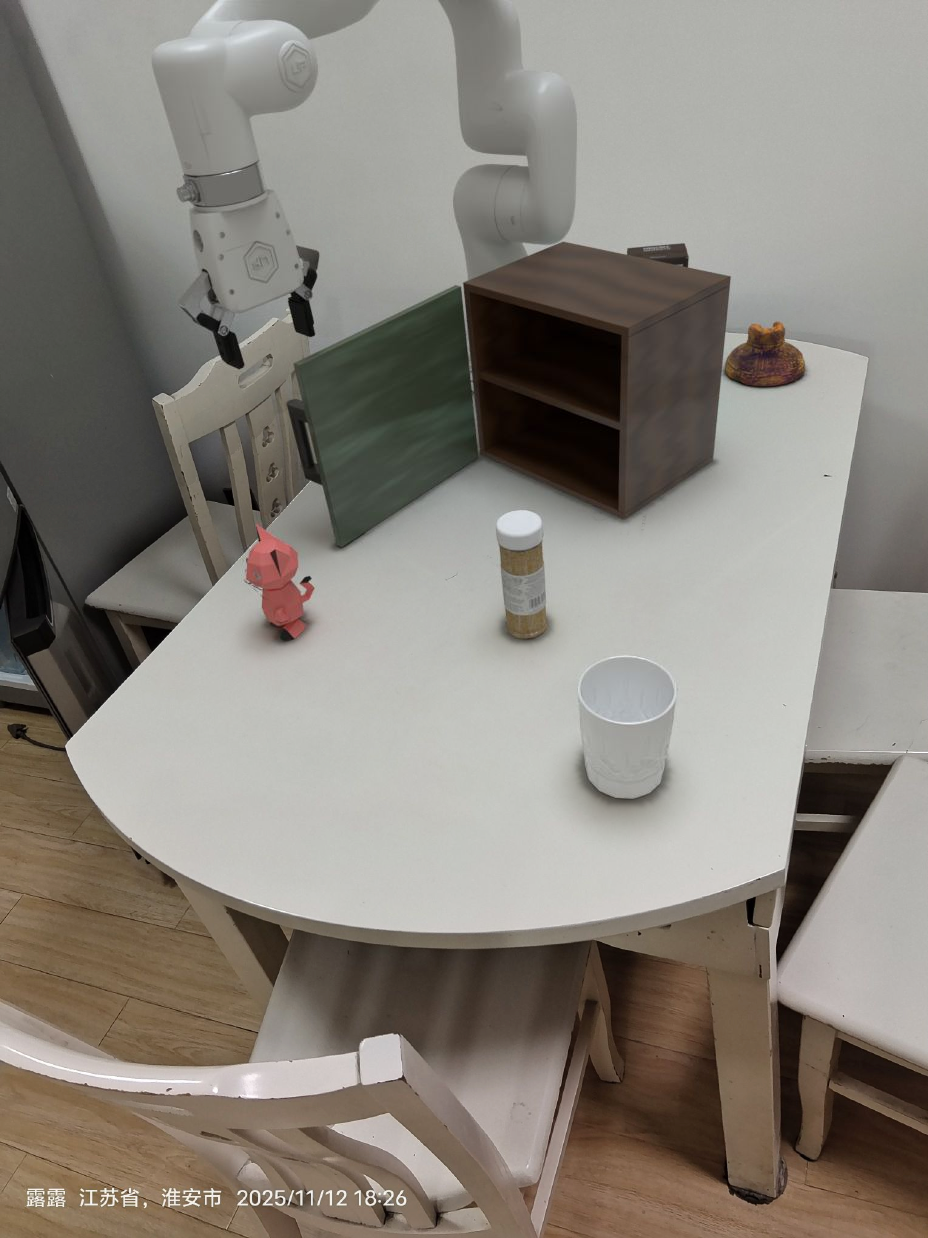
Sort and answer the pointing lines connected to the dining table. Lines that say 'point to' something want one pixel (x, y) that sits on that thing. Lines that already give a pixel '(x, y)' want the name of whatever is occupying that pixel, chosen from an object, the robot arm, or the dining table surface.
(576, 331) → the cupboard
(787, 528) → the dining table surface
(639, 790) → the white cup
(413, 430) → the door
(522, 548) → the sprinkles bottle
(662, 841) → the dining table surface
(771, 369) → the bell
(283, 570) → the cat figurine
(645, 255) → the coffee box
